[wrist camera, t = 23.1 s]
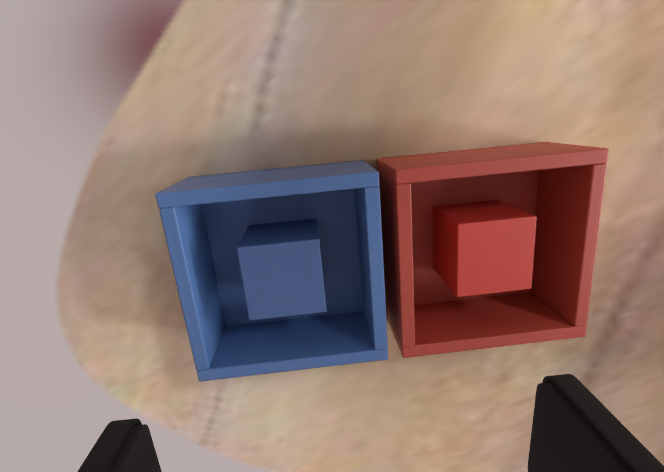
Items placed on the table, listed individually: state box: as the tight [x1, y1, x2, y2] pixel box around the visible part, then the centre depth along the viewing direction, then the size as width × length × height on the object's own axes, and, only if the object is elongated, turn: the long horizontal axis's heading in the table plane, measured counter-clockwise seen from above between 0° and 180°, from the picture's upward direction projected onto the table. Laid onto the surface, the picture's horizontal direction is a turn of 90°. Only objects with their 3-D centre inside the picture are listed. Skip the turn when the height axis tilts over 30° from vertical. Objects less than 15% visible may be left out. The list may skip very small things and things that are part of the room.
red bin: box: [377, 142, 609, 358], centre depth 25 cm, size 12×12×6 cm
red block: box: [433, 200, 537, 297], centre depth 25 cm, size 5×5×5 cm
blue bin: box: [156, 160, 388, 381], centre depth 24 cm, size 12×12×6 cm
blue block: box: [237, 219, 327, 320], centre depth 24 cm, size 5×5×5 cm
